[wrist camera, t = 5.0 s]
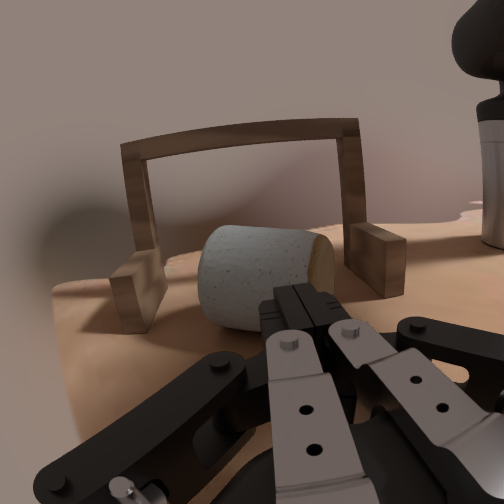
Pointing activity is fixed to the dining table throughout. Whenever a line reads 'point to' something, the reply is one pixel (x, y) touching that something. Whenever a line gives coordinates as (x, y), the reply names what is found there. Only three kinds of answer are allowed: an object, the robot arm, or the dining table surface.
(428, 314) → the dining table surface
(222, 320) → the ceramic mug
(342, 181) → the wooden arch frame
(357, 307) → the dining table surface
